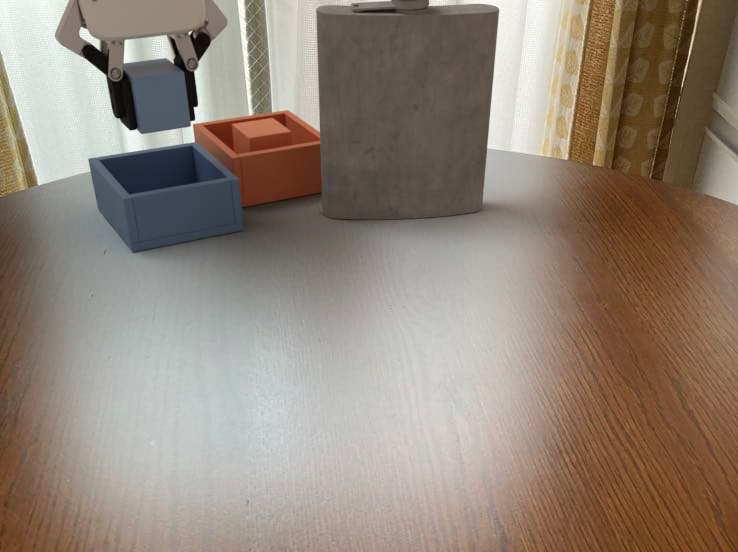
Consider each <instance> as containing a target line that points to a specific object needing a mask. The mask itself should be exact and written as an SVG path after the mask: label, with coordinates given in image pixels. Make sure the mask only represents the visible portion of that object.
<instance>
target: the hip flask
mask: <svg viewBox="0 0 738 552" xmlns="http://www.w3.org/2000/svg"><path fill="white" fill-rule="evenodd" d="M315 10H316V11H315V14H316V16H315V17H316V45H317V46H316V47H317V48H316V50H317V78H318V79H317V80H318V81H317V84H318V111H319V113H318V115H319V132H320V148H321V181H322V192H321V208H322V209H321V211H322V214H323V215H324V216H325V217H326V218H330V219H335V220H336V219H337V220H365V221H366V220H367V221H369V220H373V221H374V220H407V219H426V218H439V217H450V216H457V215H458V214H459V215H465V214H466V213H467V214H473V212H474V213H478V212H480V211H481V210H482V209H483V200H484V189H485V177H486V167H487V153H488V144H489V132H490V121H491V120H490V119H491V109H492V97H493V87H494V86H493V85H494V76H495V75H494V74H495V63H496V53H497V52H496V50H497V39H498V31H499V30H498V29H499V18H500V16H499V15H500V8H499V7H498V6H496V5H493V4H488V3H487V4H486V3H466V4H445V5H443V4H442V5H430V0H381V1H364V2H352V3H351V5H346V4H345V5H343V4H342V5H341V4H329V5H328V4H327V5H326V4H325V5H321V6H318V7H317V8H316V9H315ZM477 211H478V212H477ZM459 215H458V216H459Z"/></svg>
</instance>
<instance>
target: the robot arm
mask: <svg viewBox="0 0 738 552" xmlns="http://www.w3.org/2000/svg"><path fill="white" fill-rule="evenodd" d="M227 26H228V18H227V17H226V16H225V14H224V13H223V12H222V11H221V9H220V8H219V6H218V5H217V4H216V2H215V1H214V0H68V2H67V4H66V6H65V9H64V11H63V13H62V15H61V18H60V21H59V23H58V25H57V28H56V30H55V32H54V39H55V40H56V41H57V42H58V44H60V45H61V46H62V47H63V48H66V49H68V50H69V51H71V52H72V53H74V54H75V55H78V56H80V57H81V58H83V59H84V60H86V61H88V62H89V63H90V64H91V65H92V66H94V68H96V69H97V70H99V71H100V72H101V73H102V74H103V75H105V77H106V83H107V89H108V94H109V101H110V106H111V110H112V113H113V116H114V117H115V119H117V120H118V119H119V121H120V122H121V123H122V125H124V127H126V129H128V131H130V132H131V131H137V129H136V128H138V126H137V119H136V113H135V107H134V101H133V95H132V89H131V84H130V81H129V80H127V79H126V77H125V71H124V70H123V65H124V63H125V61H124V60H125V45H126V44H125V43H126V42H125V41H129V40H136V39H146V38H154V37H163V36H166V38H167V40H168V44H169V47H170V49H171V52H172V55H173V57H174V58H173V64H175V65H176V66H177V67H178V68H180V69H181V70H182V71H184V76H185V83H186V91H187V99H188V107H189V114H190V122H194V121H196V114H195V112H196V111H195V108H198V107H199V98H198V89H197V81H196V74H195V72H196V71H197V70H198V68H199V66H200V63H199V62H200V61H201V60H202V58H203V56H204V55H205V54H206V53H207V50H208V49H209V47H210V46H211V44H212V43H211V42H212V41H214V40H215V39H216V38H217V37H218V36H219V35H220V34H221V33H222V32H223V31H224V30H225V28H227ZM81 28H82V29H85V30H87V32H88V33H89V35H90V36H91V37H93V38H94V39H96V40H98V41H99V49H98V47H96V46H94V44H92V43H91V42H89V41H88V40H86V39H84V38H83V37H81V35H80V31H81Z"/></svg>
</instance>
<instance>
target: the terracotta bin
mask: <svg viewBox="0 0 738 552" xmlns="http://www.w3.org/2000/svg"><path fill="white" fill-rule="evenodd" d="M269 118H274V119H275V120H276V121H278V122H279V123H280V124H282V125H283V126H285V127H286V128H287V129H289V130H290V131H291V134H292V145H291V146H285V147H279V148H273V149H267V150H261V151H254V152H248V153H242V154H238V155H237V154H236V153H235V152H234V143H233V132H232V124H235V123H242V122H249V121H255V120H262V119H269ZM192 129H193V137H194V142H198V143H199V144H200V145H201V146H202V147H203V148H204V149H206V150H207V151H208V152H209V153H210V154H211V155H212V156H213V157H215V158H216V159H217V160H218V161H219V162H220V163H221V164H222V165H224V166H225V167H226V168H227V169H228V170H229V171H230V172H231V173H233V174H234V175H235V176H236V177H237V178H238V179H239V186H240V197H241V208H245V207H251V206H256V205H262V204H267V203H272V202H273V203H274V202H277V201H278V202H279V201H282V200H284V201H285V200H288V199H293V198H294V199H295V198H298V197H299V198H300V197H305V196H310V195H315V194H322V181H321V148H320V130H318V129H316V128H314V127H313V126H312V125H311V124H309V123H308V122H306V121H305V120H303V119H302V118H300V117H299V116H298V115H296V114H295V113H293V112H292V111H290V110H289V109H287V110H280V111H273V112H266V113H259V114H253V115H251V114H250V115H246V116H239V117H230V118H224V119H217V120H211V121H203V122H197V123H192Z"/></svg>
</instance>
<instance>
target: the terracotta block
mask: <svg viewBox="0 0 738 552" xmlns="http://www.w3.org/2000/svg"><path fill="white" fill-rule="evenodd" d="M232 132H233V143H234V152H235V153H236V154H237V155H238V154H242V153H248V152H254V151H261V150H267V149H273V148H279V147H285V146H291V145H292V134H291V131H290V130H289V129H287V128H286V127H285V126H283V125H282V124H280V123H279V122H278V121H276V120H275V119H274V118H269V119H262V120H255V121H249V122H242V123H235V124H232Z"/></svg>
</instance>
